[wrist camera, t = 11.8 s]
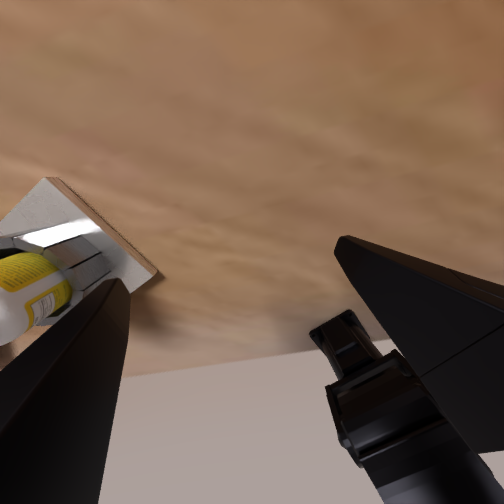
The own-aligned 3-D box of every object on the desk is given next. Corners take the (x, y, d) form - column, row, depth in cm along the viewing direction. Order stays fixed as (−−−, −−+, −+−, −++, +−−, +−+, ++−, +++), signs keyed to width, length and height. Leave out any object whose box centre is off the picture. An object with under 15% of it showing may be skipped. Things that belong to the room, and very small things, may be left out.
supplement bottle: (22, 250, 18) (-210, 326, 9) (75, 235, 17) (-105, 296, 8) (58, 296, 20) (-98, 397, 11) (106, 283, 19) (-11, 374, 10)
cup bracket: (157, 270, 21) (136, 295, 16) (87, 325, 23) (50, 360, 18) (57, 177, 17) (-8, 176, 12) (-19, 252, 19) (-97, 275, 14)
